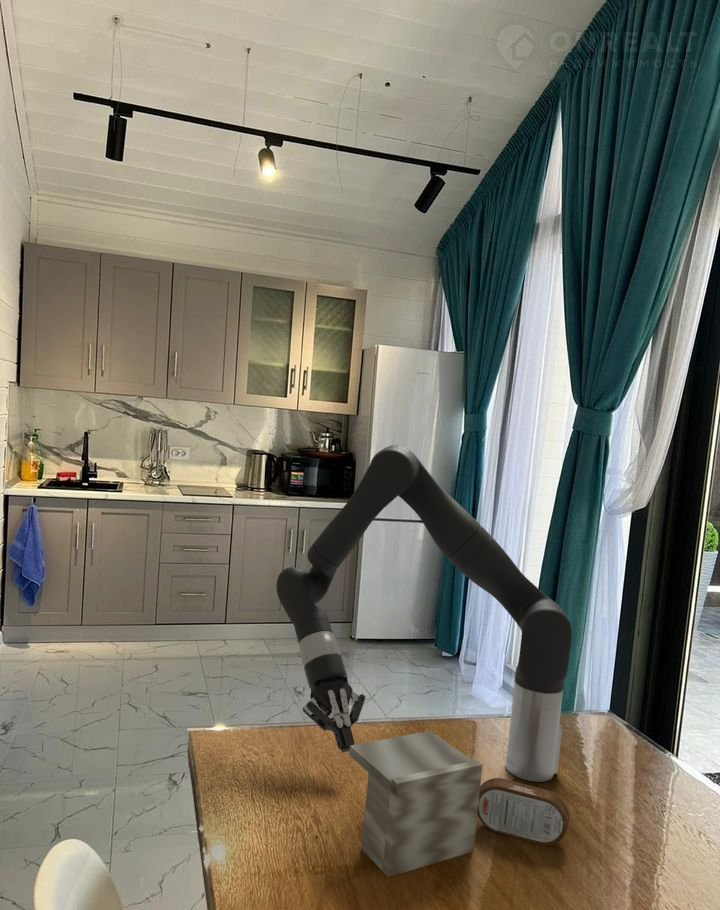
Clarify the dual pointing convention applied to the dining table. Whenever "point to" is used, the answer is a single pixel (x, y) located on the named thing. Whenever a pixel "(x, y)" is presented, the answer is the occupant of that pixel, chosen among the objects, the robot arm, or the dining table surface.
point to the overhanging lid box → (417, 801)
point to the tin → (522, 811)
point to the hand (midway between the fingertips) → (348, 750)
